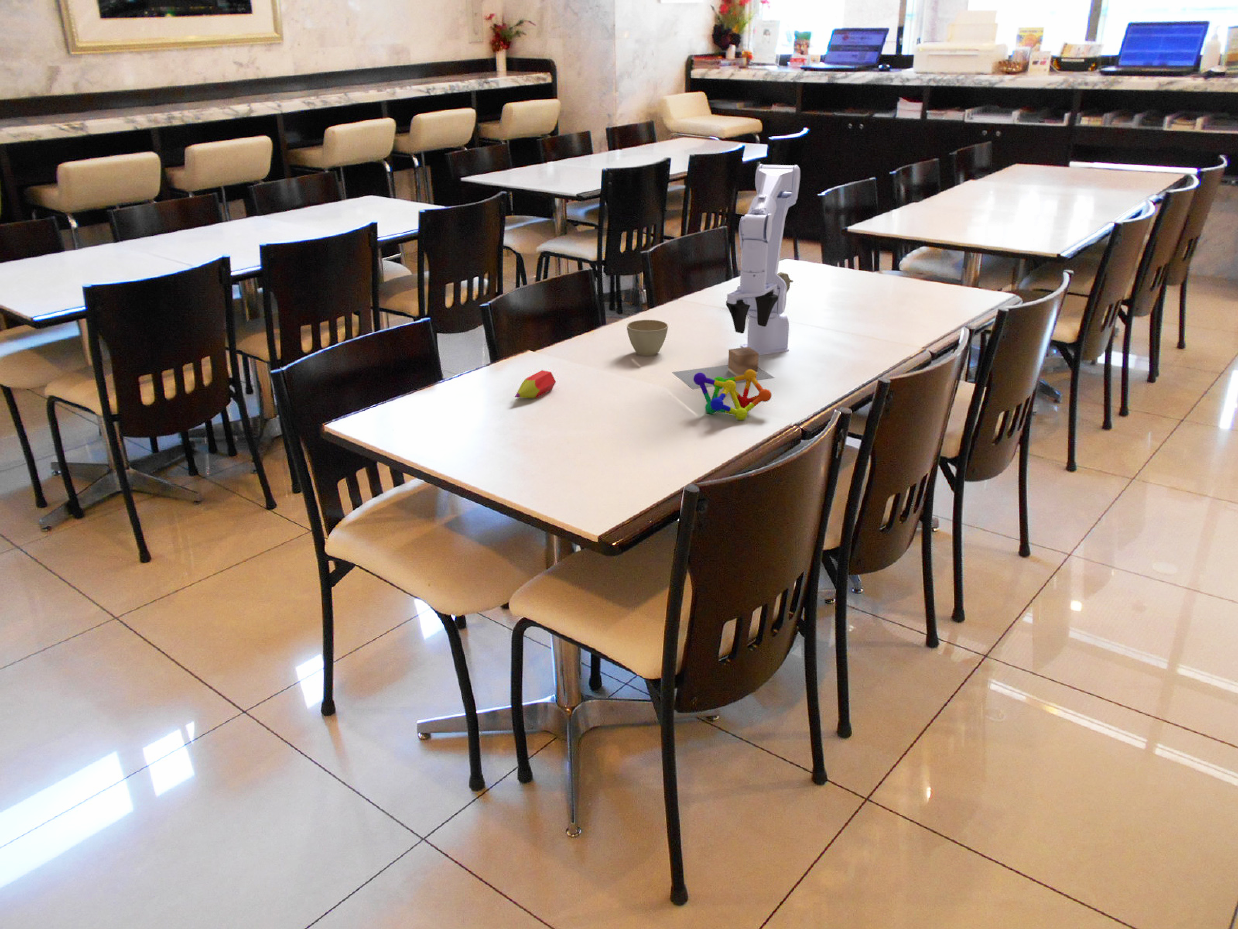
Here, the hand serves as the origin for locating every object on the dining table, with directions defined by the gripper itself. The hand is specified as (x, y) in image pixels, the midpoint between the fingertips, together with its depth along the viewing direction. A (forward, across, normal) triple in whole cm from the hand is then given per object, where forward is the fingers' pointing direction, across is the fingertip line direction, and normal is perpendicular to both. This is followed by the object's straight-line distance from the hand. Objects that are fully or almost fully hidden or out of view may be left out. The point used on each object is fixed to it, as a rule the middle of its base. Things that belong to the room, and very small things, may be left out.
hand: (750, 328), depth 214 cm
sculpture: (+10, -39, -30) cm, 50 cm away
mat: (+10, +8, -1) cm, 13 cm away
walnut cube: (+9, +4, +1) cm, 10 cm away
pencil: (+10, +48, -20) cm, 53 cm away
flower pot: (+10, +10, -25) cm, 28 cm away
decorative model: (+10, +24, +16) cm, 30 cm away
